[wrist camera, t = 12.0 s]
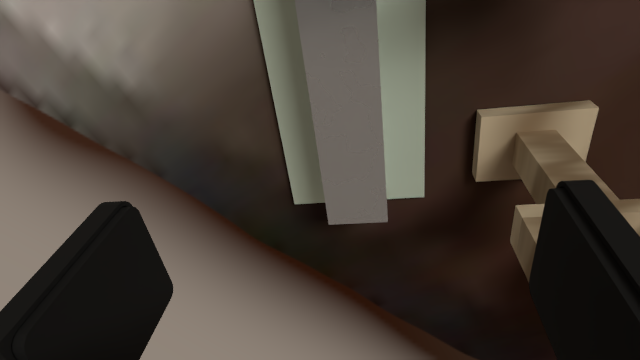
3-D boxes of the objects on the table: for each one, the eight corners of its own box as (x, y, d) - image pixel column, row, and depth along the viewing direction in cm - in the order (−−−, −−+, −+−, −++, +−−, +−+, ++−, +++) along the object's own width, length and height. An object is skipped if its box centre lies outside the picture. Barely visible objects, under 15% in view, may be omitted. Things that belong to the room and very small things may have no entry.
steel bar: (363, -202, 19) (364, -228, 16) (384, 188, 31) (387, 221, 27) (279, -186, 20) (263, -207, 16) (332, 191, 31) (328, 224, 28)
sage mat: (426, -241, 19) (427, -246, 18) (423, 192, 31) (424, 196, 31) (216, -199, 20) (212, -202, 19) (295, 199, 33) (294, 204, 32)
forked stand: (673, -244, 18) (1179, -500, 7) (575, 166, 29) (707, 320, 18) (500, -212, 19) (698, -389, 8) (470, 172, 30) (534, 322, 19)
